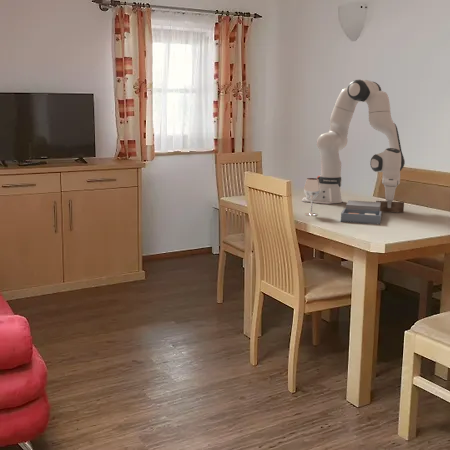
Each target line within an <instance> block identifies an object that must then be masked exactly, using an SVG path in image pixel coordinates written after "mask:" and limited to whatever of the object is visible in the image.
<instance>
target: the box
mask: <svg viewBox="0 0 450 450" xmlns="http://www.w3.org/2000/svg"><path fill="white" fill-rule="evenodd" d="M349 213H359V214H349ZM365 213H369V214H376V215H364V214H365ZM382 213H383V212H382V211H373V210H357V209H346V208H343V210H342V212H341V213H340V223H341V222H342V223H354V224H355V223H357V224H358V223H359V224H373V225H380V224H381V221H382Z"/></svg>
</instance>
